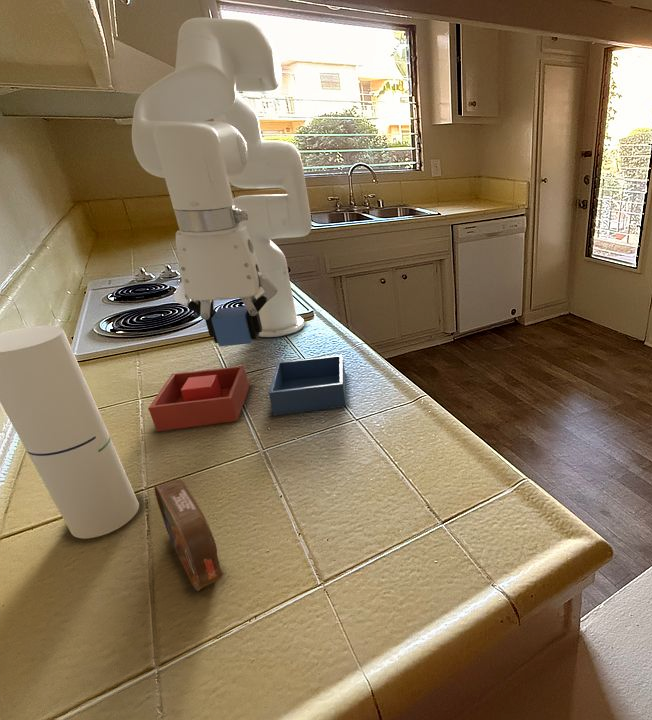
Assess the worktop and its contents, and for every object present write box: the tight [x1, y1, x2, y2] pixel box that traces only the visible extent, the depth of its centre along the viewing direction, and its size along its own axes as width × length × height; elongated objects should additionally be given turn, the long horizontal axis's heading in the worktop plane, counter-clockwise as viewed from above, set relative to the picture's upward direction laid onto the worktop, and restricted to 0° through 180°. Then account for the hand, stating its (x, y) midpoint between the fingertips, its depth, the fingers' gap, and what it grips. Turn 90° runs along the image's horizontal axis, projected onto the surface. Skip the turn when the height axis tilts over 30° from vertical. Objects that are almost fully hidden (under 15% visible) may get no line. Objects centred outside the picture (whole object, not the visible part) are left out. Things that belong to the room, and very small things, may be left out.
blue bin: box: [268, 354, 347, 417], centre depth 86 cm, size 12×12×5 cm
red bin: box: [147, 365, 250, 432], centre depth 82 cm, size 12×12×5 cm
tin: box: [153, 478, 224, 592], centre depth 52 cm, size 15×3×8 cm, turn 45°
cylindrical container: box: [0, 324, 140, 539], centre depth 54 cm, size 7×7×25 cm
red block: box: [181, 375, 223, 402], centre depth 81 cm, size 5×5×5 cm
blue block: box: [211, 306, 254, 347], centre depth 73 cm, size 5×5×5 cm
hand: (237, 336), depth 74 cm, fingers closed on blue block, 4 cm apart
